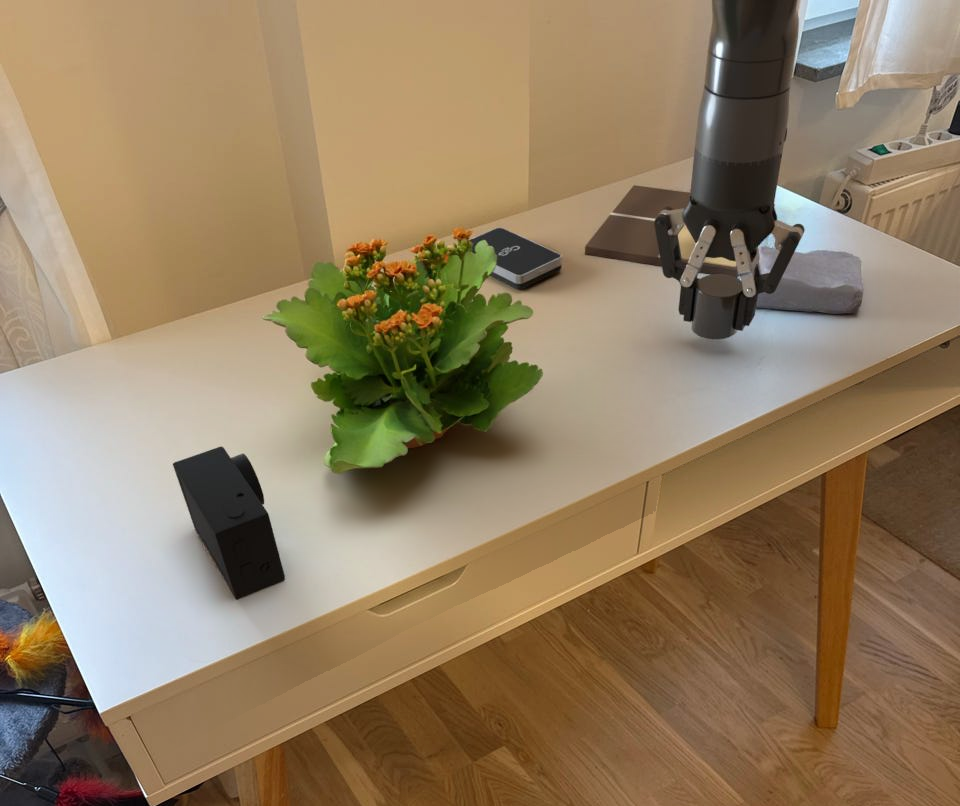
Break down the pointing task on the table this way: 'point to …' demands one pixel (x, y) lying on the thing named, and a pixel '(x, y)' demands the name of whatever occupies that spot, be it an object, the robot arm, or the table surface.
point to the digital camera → (231, 518)
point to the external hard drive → (519, 258)
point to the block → (814, 282)
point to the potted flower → (407, 346)
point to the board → (648, 231)
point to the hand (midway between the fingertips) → (715, 321)
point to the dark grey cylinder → (716, 306)
